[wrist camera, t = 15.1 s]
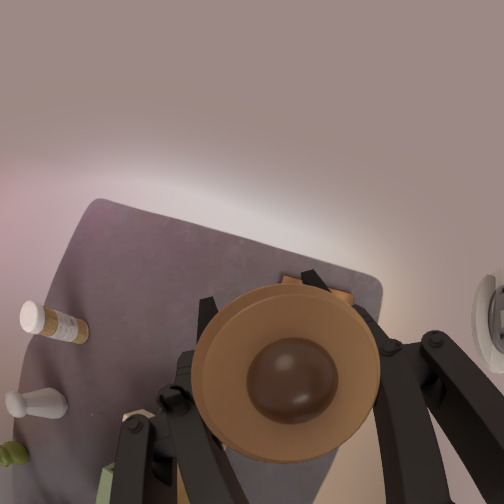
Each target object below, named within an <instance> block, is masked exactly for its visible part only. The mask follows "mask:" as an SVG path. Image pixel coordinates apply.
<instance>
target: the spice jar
mask: <svg viewBox="0 0 504 504" xmlns="http://www.w3.org/2000/svg"><path fill="white" fill-rule="evenodd" d="M20 323H21V326H22V328H23V329H24V331H26V332H28V333H32V334H40V335H44V336H47V337H50V338H54V339H58V340H63V341H67V342H74V343H76V344H83V343H84V342H85V341H86V340H87V339H88V335H89V328H88V325H87V323H86V322H85V321H84V320H82V319H77V318H74V317H72V316H70V315H67V314H64V313H61V312H59V311H56V310H53V309H49V308H46V307H44V306H42V305H41V304H39V303H36V302H34V301H27V302H26V303H25V304H24V305H23V306H22V309H21V312H20Z"/></svg>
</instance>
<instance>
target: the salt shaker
mask: <svg viewBox="0 0 504 504" xmlns="http://www.w3.org/2000/svg"><path fill="white" fill-rule="evenodd" d="M5 403H6V407H7V409H8V411H9V412H10V414H11V415H12V416H14V417H17V418H20V417H24V416H25V414H30V415H35V416H41V417H46V418H52V419H57V418H61V417H62V416H63V415H64V414H65V413H66V411H67V408H68V404H67V401H66V398H65V396H63V395H62V394H61V393H59V392H58V391H57V390H55V389H52V388H45V389H41V390H37V391H33V392H29V393H24V394H20V393H19V392H16V391H9V392H7V394H6V397H5Z"/></svg>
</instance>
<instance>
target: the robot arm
mask: <svg viewBox="0 0 504 504" xmlns="http://www.w3.org/2000/svg"><path fill="white" fill-rule="evenodd" d="M301 278H302V284H305V285H309V286H314V287H317V288H320V289H323V290H326V291H328V292H330V293H332V292H331V291H330V290H329V289H328V287H327V286H326V285H325V283H324V282H323V281H322V280H321V278H320V277H319V276H318V274H317V273H316V272H315V271H314V269H312V270H309V271H305V272H302V273H301ZM351 307H352V308H354V309H355V310H356V311H357V313H358V314H359V315H360V316H361V317H362V318H363V320H364V321H365V323H366V324H367V326H368V327H369V329H370V331H371V333H372V335H373V337H374V339H375V342H376V345H377V349H378V353H379V359H380V383H379V388H378V393H377V396H376V399H375V402H374V404H373V412H374V416H375V422H376V428H377V434H378V440H379V446H380V453H381V460H382V467H383V475H384V483H385V494H386V504H455V503H454V502H452V500H451V499H450V495H449V489H448V484H447V479H446V475H445V470H444V465H443V461H442V457H441V454H440V449H439V446H438V442H437V438H436V435H435V432H434V428H433V425H432V421H431V418H430V415H429V412H428V409H429V410H430V412H431V413H432V415H433V416H434V418H435V419H436V421H437V422H438V424H439V425H440V427H441V428H442V430H443V431H444V433H445V434H446V436H447V438H448V439H449V441H450V442H451V444H452V446H453V447H454V449H455V450H456V452H457V454H458V455H459V457H460V458H461V460H462V462H463V464H464V465H465V467H466V469H467V470H468V472H469V474H470V475H471V477H472V479H473V481H474V482H475V484H476V486H477V488H478V489H479V491H480V493H481V495H482V497H483V498H484V500H485V502H486V503H487V504H504V396H503V395H502V393H501V392H500V391H499V390H498V389H497V388H496V387H495V385H494V384H493V383H492V382H491V381H490V380H489V378H487V376H486V375H485V374H484V373H483V372H482V371H481V370H480V369H479V368H478V366H477V365H476V364H475V363H474V362H473V361H472V360H471V359H470V358H469V357H468V356H467V355H466V353H465V352H464V351H463V350H462V349H461V348H460V347H459V346H458V345H457V344H456V343H455V342H454V341H453V340H452V339H450V337H449V336H448V335H447V334H445V333H444V332H441V331H438V330H435V331H429V332H427V333H426V334H424V335H423V337H422V339H421V342H417V343H411V344H402V343H401V342H400V341H398V340H395V339H390V338H389V337H388V336H387V335H386V334H385V332H384V331H383V330H382V329H381V328H380V326H379V325H378V324H377V323H376V322H375V321H374V319H373V318H372V317H371V316H370V315H369V313H368V312H367V311H366V310H365V309H364V308H362V307H360V306H358V305H356V304H355V305H353V306H351ZM217 313H218V310H217V307H216V304H215V301H214V299H213V296H212V297H208V298H204V299H200V302H199V315H198V329H197V344H198V341H199V339H200V337H201V335H202V333H203V331H204V330H205V328H206V326H207V325H208V324H209V322H210V321H211V320H212V319H213V317H214V316H215V315H216V314H217ZM488 328H489V333H490V337H491V340H492V342H493V344H494V346H495V348H496V349H497V350H498V351H499V352H500V353H502V354H504V285H502V286H500V287H498V288H497V289H496V290H495V291H494V293H493V295H492V297H491V300H490V303H489V308H488ZM196 346H197V345H196ZM194 352H195V350H191V351H186V352H182V354H181V356H180V357H179V359H178V362H177V370H176V379H175V383H173V384H169V385H167V386H165V387H163V388H162V389H161V390H160V391H159V393H158V394H157V397H156V401H157V403H158V404H159V405H160V407H161V408H162V409H163V410H164V412H163V413H161V414H159V415H156V416H154V417H151V418H147V417H146V416H145V415H143V414H134V415H131V416H129V417H128V418H126V420H125V421H124V422H123V424H122V427H121V431H120V437H119V442H118V447H117V453H116V459H115V465H114V471H113V478H112V485H111V493H110V501H109V504H178V499H177V463H178V467H179V470H180V474H181V477H182V481H183V484H184V487H185V490H186V494H187V497H188V500H189V503H190V504H249V502H248V500H247V498H246V496H245V494H244V492H243V490H242V488H241V486H240V484H239V482H238V480H237V477H236V475H235V473H234V471H233V469H232V467H231V464H230V462H229V460H228V458H227V455H226V453H225V451H224V448H223V446H222V443H221V441H220V440H219V439H218V438H217V437H216V436H215V435H214V434H213V433H212V431H211V430H210V429H209V428H208V427H207V425H206V424H205V422H204V420H203V419H202V417H201V415H200V413H199V411H198V409H197V406H196V403H195V400H194V396H193V392H192V385H191V368H192V361H193V356H194ZM427 407H428V409H427Z"/></svg>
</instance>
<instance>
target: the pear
mask: <svg viewBox="0 0 504 504" xmlns="http://www.w3.org/2000/svg"><path fill="white" fill-rule="evenodd" d="M28 459H29V455H28V452H27V450H26V448H25V447H24V446H23V445H22V444H20V443H18V442H15V441H8V442H5V443H4V444H3V445H0V465H2V466H5V467H8V466H9V465H10V464H12V463H14V464H18V465H23V464H26V463H27V462H28Z"/></svg>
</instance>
